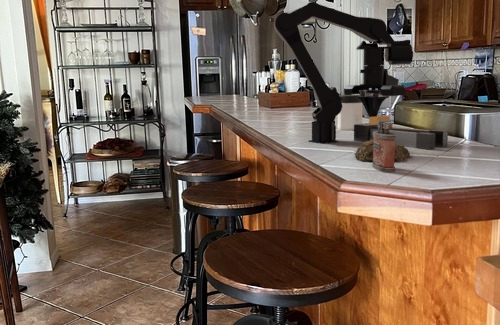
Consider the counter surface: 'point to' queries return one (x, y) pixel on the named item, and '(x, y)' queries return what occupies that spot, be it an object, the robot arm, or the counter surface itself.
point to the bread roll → (368, 147)
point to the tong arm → (440, 135)
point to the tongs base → (402, 138)
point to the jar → (350, 112)
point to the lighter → (384, 147)
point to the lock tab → (378, 119)
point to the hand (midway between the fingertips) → (372, 120)
